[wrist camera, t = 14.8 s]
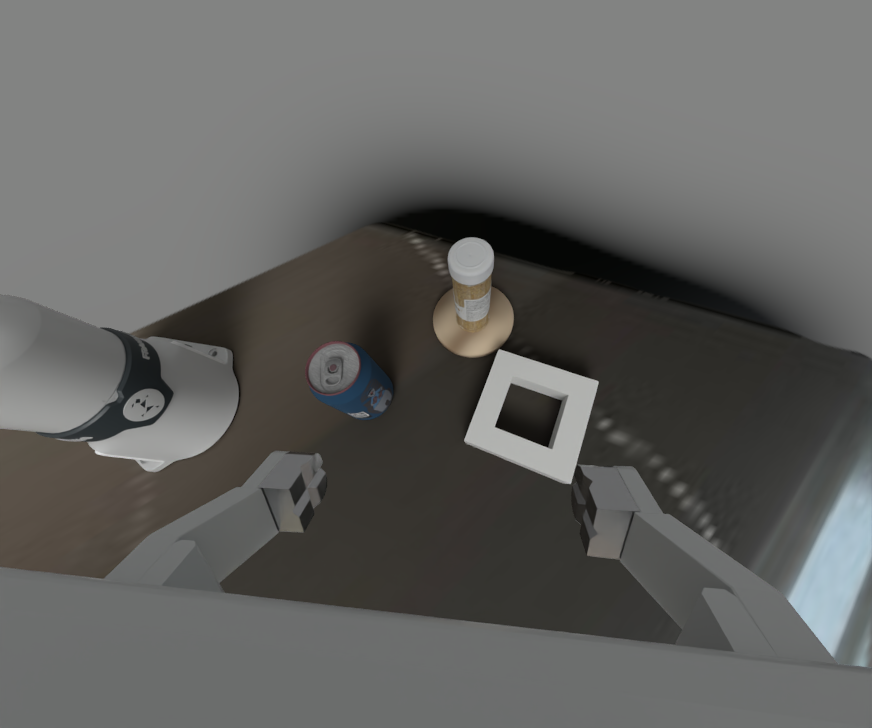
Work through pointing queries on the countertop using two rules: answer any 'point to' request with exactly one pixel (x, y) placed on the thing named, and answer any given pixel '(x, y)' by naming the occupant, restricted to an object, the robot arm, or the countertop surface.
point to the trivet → (477, 341)
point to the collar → (568, 426)
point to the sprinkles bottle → (471, 282)
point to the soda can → (348, 380)
